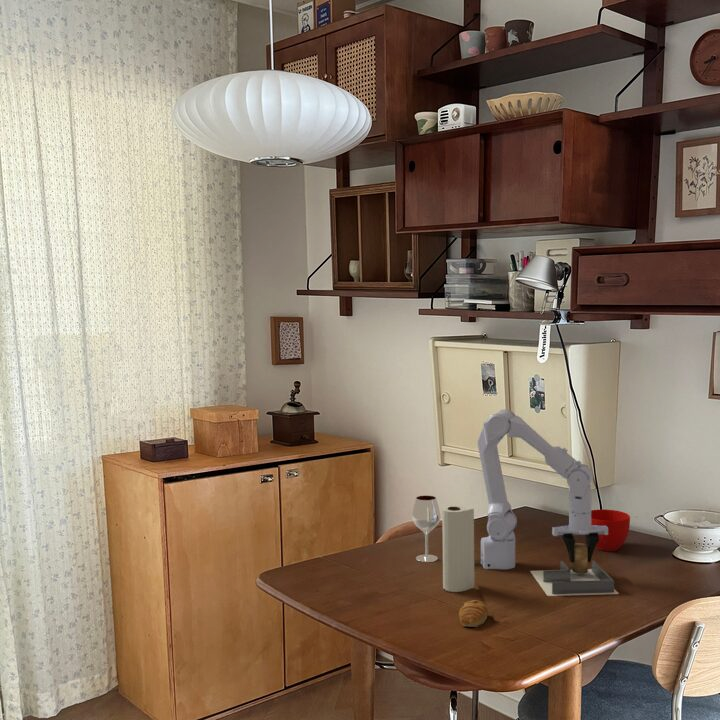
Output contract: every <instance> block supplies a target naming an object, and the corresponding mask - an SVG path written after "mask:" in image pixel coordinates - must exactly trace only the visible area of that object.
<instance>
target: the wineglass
mask: <svg viewBox="0 0 720 720" xmlns="http://www.w3.org/2000/svg"><path fill="white" fill-rule="evenodd" d="M411 518H412V522H413V523H414V525H415V526H416V527H417V528H418V530H420V531H422V532H423V535H424V540H425V541H424V543H425V545H424V546H425V547H424V549H425V550H424V551H425V552H424V554H420V555H417V556H416V557H415V559H416V561H417V562H420V561H421V563H434V562H436V561H438V560H439V557H438V556H436V555H433V554H429V534H430V533H431V532H432V531H433V530H434V529H435V528H436V527H437V526H438V525H439V523H440V521H441V511H440V508H439V504H438V499H437V497H436V496H433V495H420V496H419V495H418V496H416V498H415V502H414V505H413V509H412V515H411Z"/></svg>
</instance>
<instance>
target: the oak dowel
mask: <svg viewBox="0 0 720 720" xmlns="http://www.w3.org/2000/svg"><path fill="white" fill-rule="evenodd" d="M571 563H572V562H571ZM571 566H572V568H571V570H572V571H573V572H575V573H581V574H583V573H587V572H588V569H589V562H588V545H586V543H581V542H575V546H574V562H573V563H572V565H571Z"/></svg>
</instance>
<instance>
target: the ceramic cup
mask: <svg viewBox="0 0 720 720" xmlns="http://www.w3.org/2000/svg"><path fill="white" fill-rule="evenodd" d="M630 523H631V516H630V515H629V513H626V512H624V511H619V510H615V509H604V508H603V509H601V508H600V509H591V525H597V526H607V527H608V535H604V534H598V536H599V542H598V543H597V545H596V547H595V549H597V550H600V551H603V550H604V551H605V552H615V551H617V550H619V549H620V548H621V547H622V545H624V543H625V542H626V540H627V538H628V536H629V531H630V525H631V524H630Z"/></svg>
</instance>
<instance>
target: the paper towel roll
mask: <svg viewBox="0 0 720 720" xmlns="http://www.w3.org/2000/svg"><path fill="white" fill-rule="evenodd" d="M441 509H442V510H441V514H442V515H441V517H442V522H441V524H442V588H443V590H444V589H445V590H444V591H447V592H450V593H460V592H465V591H468V590H471V589H475V509H474V508H470V509H466V507H463V506H458V505H449V506H444V507H442V508H441Z"/></svg>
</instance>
